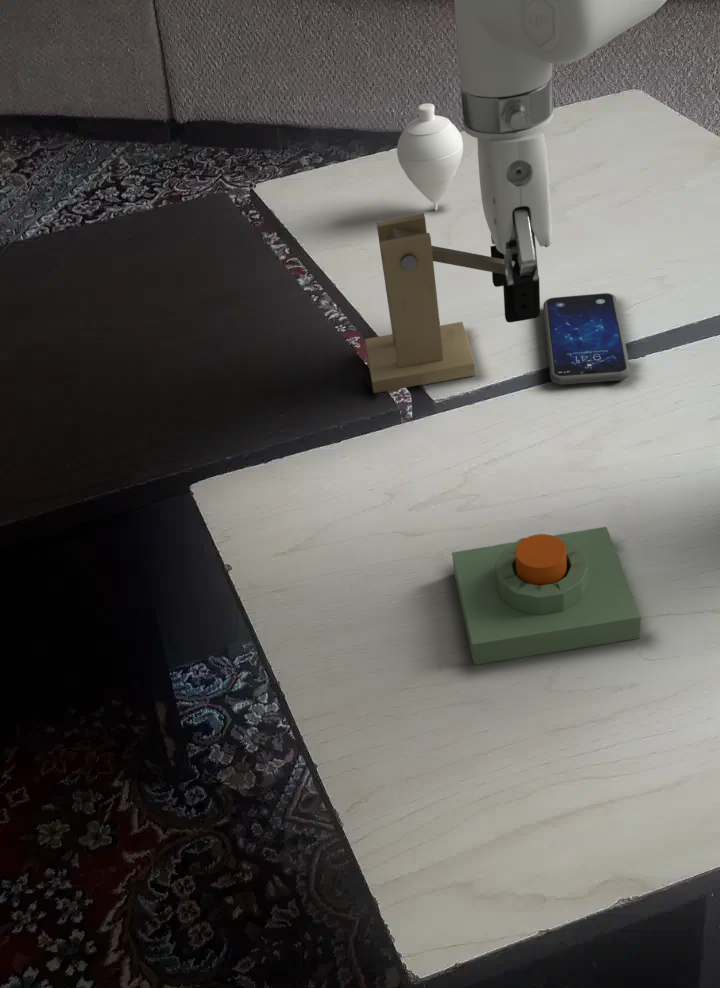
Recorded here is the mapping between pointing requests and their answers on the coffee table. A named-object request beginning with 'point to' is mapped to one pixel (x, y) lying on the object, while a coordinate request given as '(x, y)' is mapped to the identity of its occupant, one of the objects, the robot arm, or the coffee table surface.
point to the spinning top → (430, 152)
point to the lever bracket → (414, 316)
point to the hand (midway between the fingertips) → (515, 299)
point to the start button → (541, 559)
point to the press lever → (461, 256)
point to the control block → (545, 600)
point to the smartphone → (585, 339)
